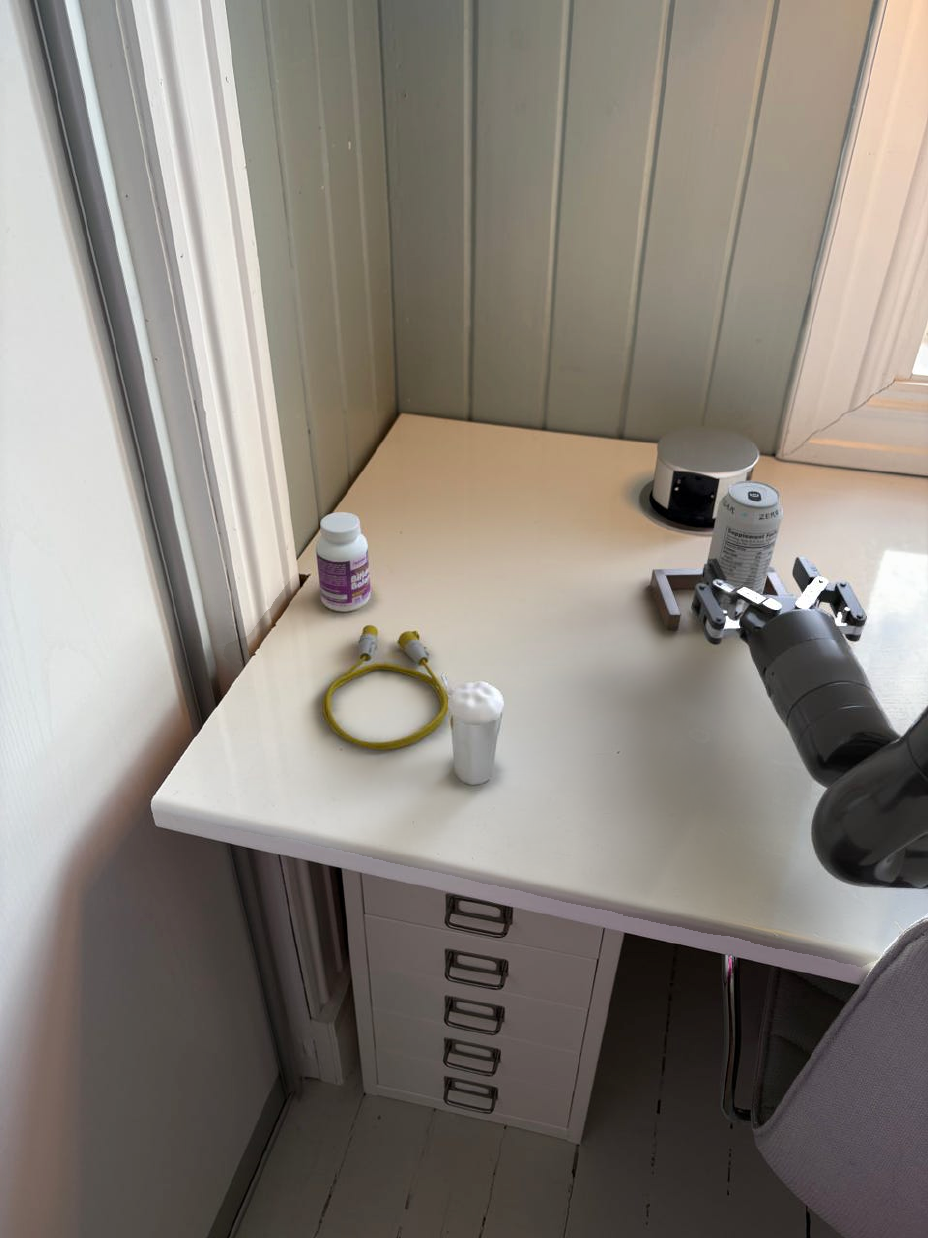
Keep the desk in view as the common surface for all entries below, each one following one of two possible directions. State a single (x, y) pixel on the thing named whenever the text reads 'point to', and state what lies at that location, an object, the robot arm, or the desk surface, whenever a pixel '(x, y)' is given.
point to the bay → (688, 579)
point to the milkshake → (474, 729)
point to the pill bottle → (343, 563)
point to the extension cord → (413, 650)
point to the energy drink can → (746, 534)
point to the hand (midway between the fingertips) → (753, 565)
